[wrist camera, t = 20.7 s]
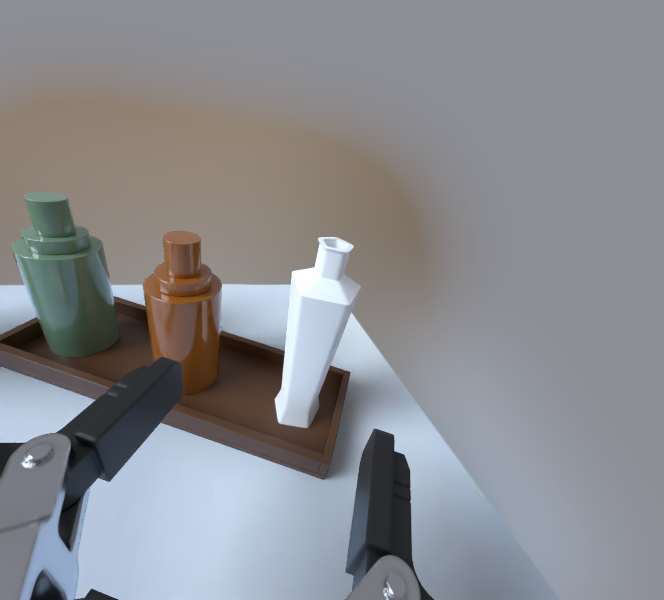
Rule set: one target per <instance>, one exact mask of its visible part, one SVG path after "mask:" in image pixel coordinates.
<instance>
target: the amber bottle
mask: <svg viewBox="0 0 664 600" xmlns="http://www.w3.org/2000/svg"><path fill="white" fill-rule="evenodd" d="M163 246H164V256H165V263H162V264H160V265H158V266H157V267H156V268H155V270H154V274H152V275H150V276H149V277H148V278H147V279H146V280H145V281H144V284H143V291H144V298H145V305H146V312H147V320H148V327H149V334H150V342H151V349H152V356H153V363H154V362H155V361H156V360H157V359H158V358H160V357H166V358H169V359H172V360H175V361H178V362H180V363H182V368H183V382H184V390H183V394H182V395H189V394H194V393H197V392H200V391H202V390H204V389H206V388H208V387H209V386H211V385H212V384H213V383H214V382H215V380H216V379H217V377H218V375H219V371H220V338H221V299H222V283H221V281H220V279H219V278H218V277H217V276H216V275H214V274H212V272H211V270H210V268H209V267H208V266H206V265H205V264H202V263H201V239H200V237H199V236H198V235H196V234H194V233H191V232H185V231H172V232H168V233H166V234H164V235H163Z"/></svg>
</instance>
